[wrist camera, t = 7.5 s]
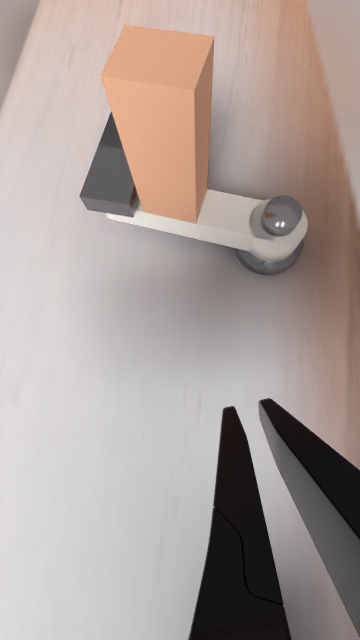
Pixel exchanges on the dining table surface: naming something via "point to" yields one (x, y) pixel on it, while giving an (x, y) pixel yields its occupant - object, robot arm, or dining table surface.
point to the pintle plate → (267, 265)
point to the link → (179, 143)
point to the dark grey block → (110, 177)
